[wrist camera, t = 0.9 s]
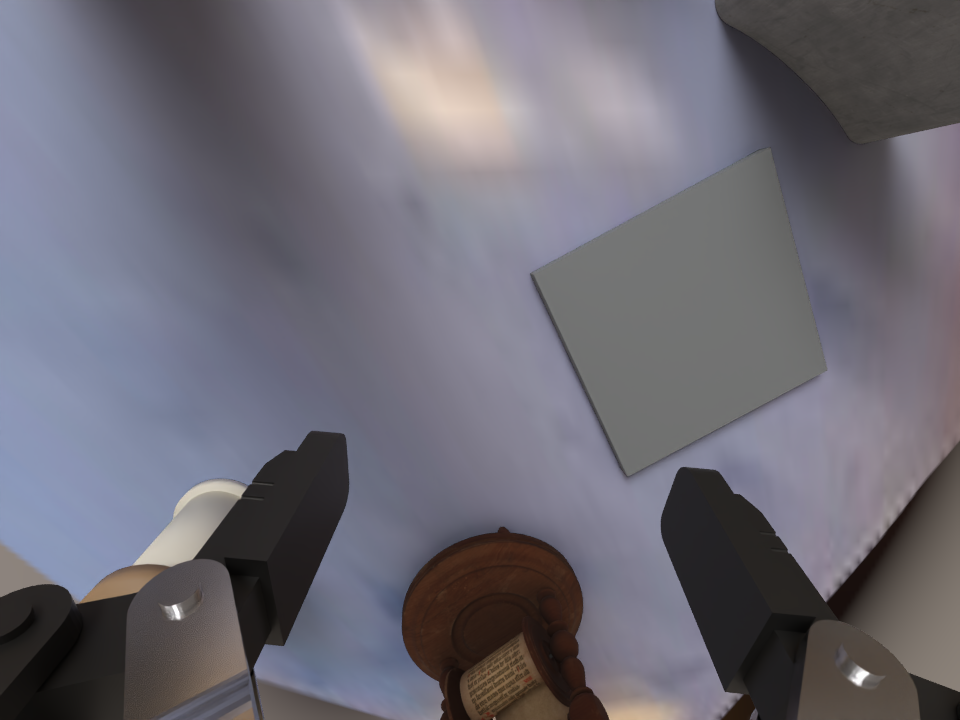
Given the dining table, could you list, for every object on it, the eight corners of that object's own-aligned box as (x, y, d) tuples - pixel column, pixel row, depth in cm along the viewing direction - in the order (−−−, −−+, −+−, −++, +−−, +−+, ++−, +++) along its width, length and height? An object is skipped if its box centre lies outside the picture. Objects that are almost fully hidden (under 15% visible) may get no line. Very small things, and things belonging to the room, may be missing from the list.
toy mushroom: (163, 535, 32) (53, 663, 22) (193, 463, 30) (90, 565, 21) (251, 562, 33) (183, 692, 24) (283, 494, 32) (225, 602, 22)
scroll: (473, 688, 40) (523, 1105, 20) (365, 593, 35) (301, 1011, 16) (603, 595, 39) (781, 942, 20) (509, 487, 34) (620, 796, 15)
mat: (530, 273, 30) (533, 274, 29) (758, 149, 30) (770, 146, 29) (622, 470, 35) (627, 476, 34) (816, 366, 35) (827, 370, 34)
